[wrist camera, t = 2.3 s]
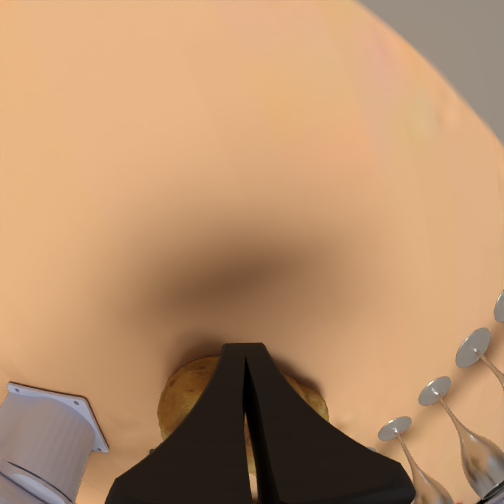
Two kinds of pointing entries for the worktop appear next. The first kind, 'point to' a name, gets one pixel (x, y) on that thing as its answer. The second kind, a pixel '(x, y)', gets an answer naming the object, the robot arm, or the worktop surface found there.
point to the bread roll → (191, 387)
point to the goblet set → (458, 429)
